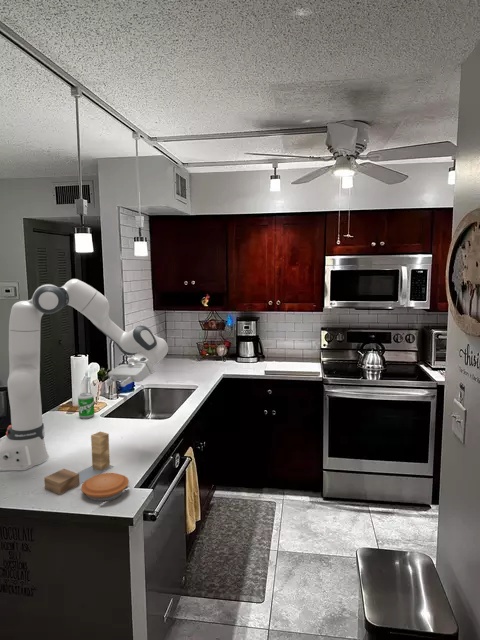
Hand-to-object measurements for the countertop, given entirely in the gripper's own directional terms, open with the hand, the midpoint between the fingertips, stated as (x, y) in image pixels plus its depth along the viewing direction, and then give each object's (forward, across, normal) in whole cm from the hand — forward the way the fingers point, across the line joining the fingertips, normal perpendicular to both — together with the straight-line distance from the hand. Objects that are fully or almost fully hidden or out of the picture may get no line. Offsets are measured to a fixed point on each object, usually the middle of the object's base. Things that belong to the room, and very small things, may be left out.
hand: (114, 384), depth 177 cm
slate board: (+30, +1, +20) cm, 36 cm away
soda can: (-8, -57, +29) cm, 65 cm away
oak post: (+21, 0, +23) cm, 31 cm away
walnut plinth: (+37, +3, +16) cm, 41 cm away
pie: (+31, +17, +22) cm, 42 cm away
